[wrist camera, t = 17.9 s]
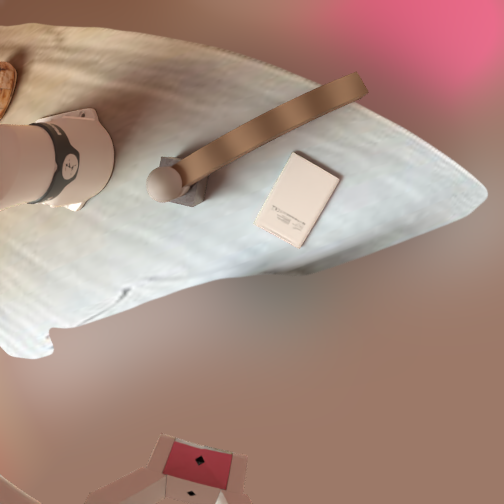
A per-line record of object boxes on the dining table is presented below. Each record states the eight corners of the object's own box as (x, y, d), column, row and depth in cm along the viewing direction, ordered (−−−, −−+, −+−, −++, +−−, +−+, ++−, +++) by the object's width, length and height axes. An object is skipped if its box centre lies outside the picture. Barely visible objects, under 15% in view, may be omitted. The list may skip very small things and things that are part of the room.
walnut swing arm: (170, 203, 42) (157, 208, 37) (155, 176, 41) (140, 178, 36) (363, 103, 36) (373, 95, 31) (347, 75, 35) (355, 64, 30)
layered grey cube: (167, 193, 48) (153, 198, 42) (175, 157, 46) (161, 156, 41) (203, 201, 48) (192, 207, 42) (211, 164, 46) (201, 164, 41)
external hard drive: (338, 179, 46) (299, 246, 49) (292, 152, 45) (253, 222, 49) (340, 179, 44) (299, 249, 48) (292, 151, 44) (252, 223, 47)
